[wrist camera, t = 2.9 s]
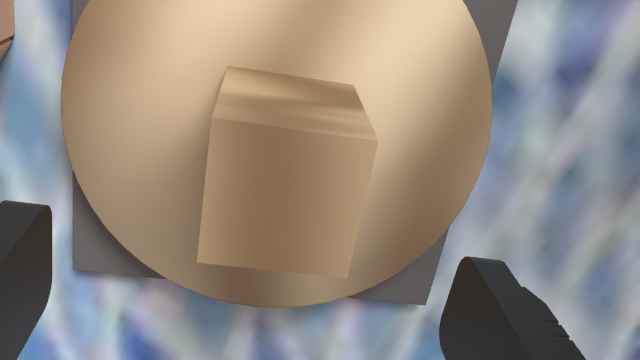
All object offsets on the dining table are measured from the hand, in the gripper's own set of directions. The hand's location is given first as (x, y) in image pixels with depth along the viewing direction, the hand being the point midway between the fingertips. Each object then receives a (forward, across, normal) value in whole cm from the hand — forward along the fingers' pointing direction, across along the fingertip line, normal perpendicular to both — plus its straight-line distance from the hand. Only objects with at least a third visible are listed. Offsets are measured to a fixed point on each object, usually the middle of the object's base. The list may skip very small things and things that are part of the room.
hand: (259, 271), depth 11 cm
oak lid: (+10, -1, 0) cm, 10 cm away
